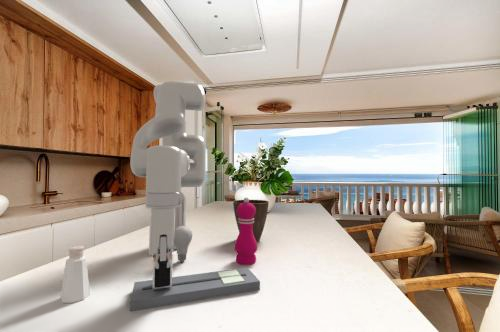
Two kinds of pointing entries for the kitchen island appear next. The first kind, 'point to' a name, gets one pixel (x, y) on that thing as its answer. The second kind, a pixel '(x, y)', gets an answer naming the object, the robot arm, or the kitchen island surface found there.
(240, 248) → the pepper mill
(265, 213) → the plant pot
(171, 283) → the fader knob
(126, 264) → the kitchen island surface
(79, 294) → the pepper shaker
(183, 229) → the lightbulb
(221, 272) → the fader panel
